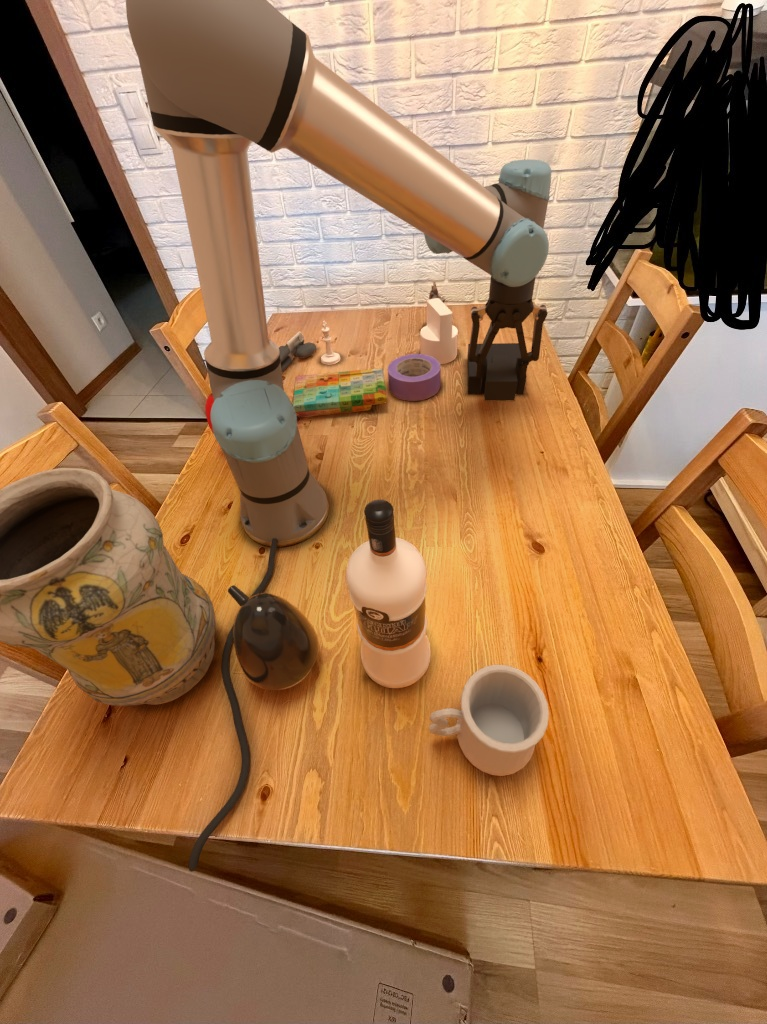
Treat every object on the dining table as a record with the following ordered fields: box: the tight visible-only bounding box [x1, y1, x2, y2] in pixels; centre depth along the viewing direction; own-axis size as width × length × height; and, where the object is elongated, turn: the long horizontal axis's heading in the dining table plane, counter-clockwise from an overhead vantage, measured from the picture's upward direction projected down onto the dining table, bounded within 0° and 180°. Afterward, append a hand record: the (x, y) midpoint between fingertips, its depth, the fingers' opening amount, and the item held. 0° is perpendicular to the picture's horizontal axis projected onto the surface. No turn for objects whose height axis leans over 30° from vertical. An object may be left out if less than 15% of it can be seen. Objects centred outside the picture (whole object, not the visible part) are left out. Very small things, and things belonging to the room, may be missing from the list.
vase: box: [0, 467, 216, 707], centre depth 53 cm, size 18×18×30 cm
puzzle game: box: [292, 367, 388, 418], centre depth 102 cm, size 12×5×20 cm
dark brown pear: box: [227, 585, 320, 691], centre depth 57 cm, size 10×10×15 cm
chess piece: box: [320, 320, 341, 366], centre depth 112 cm, size 5×5×10 cm
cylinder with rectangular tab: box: [419, 298, 459, 365], centre depth 109 cm, size 9×9×12 cm
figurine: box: [425, 280, 446, 326], centre depth 118 cm, size 6×6×12 cm
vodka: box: [345, 498, 431, 689], centre depth 51 cm, size 9×9×30 cm
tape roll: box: [387, 353, 441, 402], centre depth 104 cm, size 12×12×5 cm
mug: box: [428, 664, 550, 777], centre depth 51 cm, size 12×9×10 cm
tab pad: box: [483, 355, 518, 402], centre depth 95 cm, size 10×6×4 cm, turn 174°
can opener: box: [278, 330, 317, 373], centre depth 114 cm, size 19×6×5 cm, turn 153°
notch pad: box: [466, 342, 528, 395], centre depth 104 cm, size 14×12×4 cm
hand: (498, 389), depth 96 cm, fingers closed on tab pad, 6 cm apart
